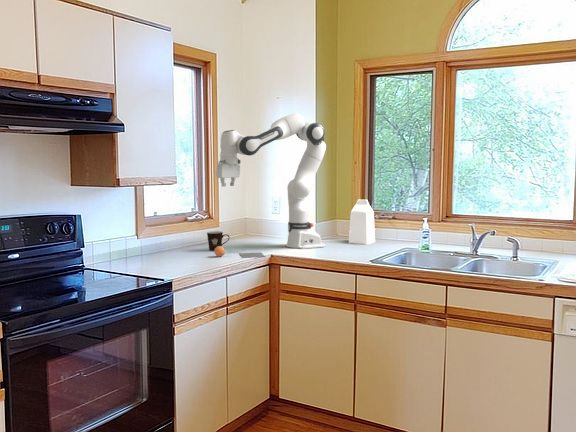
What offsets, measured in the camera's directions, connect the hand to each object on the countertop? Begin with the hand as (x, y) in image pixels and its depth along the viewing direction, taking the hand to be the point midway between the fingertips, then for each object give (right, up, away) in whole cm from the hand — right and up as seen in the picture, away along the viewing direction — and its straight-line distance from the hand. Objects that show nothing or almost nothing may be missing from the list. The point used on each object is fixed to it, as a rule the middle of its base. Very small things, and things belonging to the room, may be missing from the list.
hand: (227, 186), depth 295 cm
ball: (-3, -35, -10) cm, 36 cm away
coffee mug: (-7, -35, +10) cm, 37 cm away
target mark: (+13, -37, -6) cm, 40 cm away
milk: (+77, -32, +36) cm, 91 cm away
